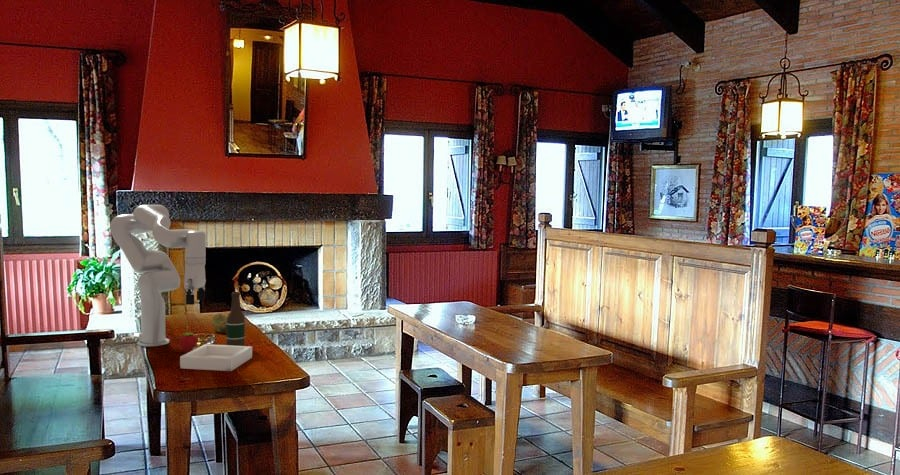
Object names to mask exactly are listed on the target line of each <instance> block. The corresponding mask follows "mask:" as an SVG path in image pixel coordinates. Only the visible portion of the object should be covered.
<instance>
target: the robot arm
mask: <svg viewBox="0 0 900 475" xmlns="http://www.w3.org/2000/svg"><path fill="white" fill-rule="evenodd" d="M170 227H171V219H170V212H169V210H168V208H167V207H166V206H165V205H162V204H142V205H139V206H137V207H135V209H134V210H133V213H132V214H131V213H129V214H127V213H126V214H120V215H116V216H114V217H113V218H112V219H111V222H110V227H109V229H110V233H111V236H112V238H113V241H115V243H116V245H118V247H119V248H120V249H121V250H122V252H123V254H124V256H125V257H126V259H127V261H128V263H129V265H130V266H131V268H132V270H133V271H134V272H136V274H137V273H138V274H141V275H140V276H139V277H138V280H137V285H138V290H139V295H140V317H141V318H140V322H141V324H140V328H141V329H140V330H141V332H140V333H139V332H137V333H135V332H134V333H133V337H132V338H133V339H138V341H137V346H139V347H144V348H145V347H146V348H147V347H151V348H152V347H159V346H165V345H168V344H169V343H170V339H169V338H167V337H166V302H165V298H164V297H163V296H162V294H161V293H164V292H169V291H170V292H171V291H175V290H177V289H178V288H179V287H180V285H181V276H180V274H179V272H178V270H177V269H176V267H175V265H174V264H173V262H172V260H171V259H170V257H169V256H168V254H167V253H166V252H164V251H163V250H148V249H147V248H146V247H145V245H144V243H143V242H142V241H141V239H139V238H138V237H137V236H135V235H134V234H143V233H145V234H146V233H149V232H151V233H152V234H151V235H152V236H153V239H154V241H155V242H156V243H158V244H160V245H161V246H163V247H165V248H167V249H179V248H185V270H184V278H183V280H184V281H183V288H184V292H185V304H186V305H195V294H194V293H195V291H196V300H197V301H205V300H206V298H205V297H206V293H205V292H206V285H207V284H206V282H207V279H206V267H205V266H206V260H207V258H206V255H207V254H206V253H207V252H206V250H207V248H206V243H207V241H206V236H207V235H206V232H204V231H203V230H194V229H192V228H190V229H189V228H185V229H184V228H183V229H182V228H181V229H170Z"/></svg>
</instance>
